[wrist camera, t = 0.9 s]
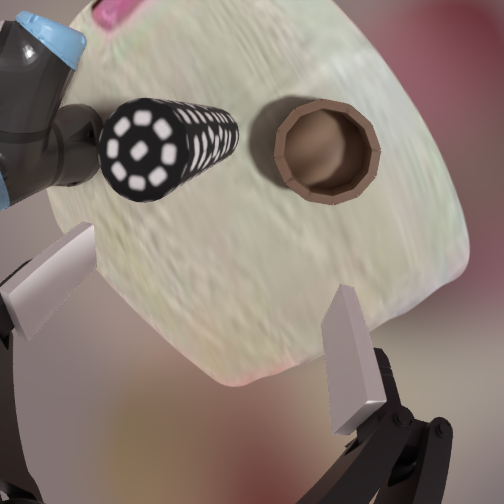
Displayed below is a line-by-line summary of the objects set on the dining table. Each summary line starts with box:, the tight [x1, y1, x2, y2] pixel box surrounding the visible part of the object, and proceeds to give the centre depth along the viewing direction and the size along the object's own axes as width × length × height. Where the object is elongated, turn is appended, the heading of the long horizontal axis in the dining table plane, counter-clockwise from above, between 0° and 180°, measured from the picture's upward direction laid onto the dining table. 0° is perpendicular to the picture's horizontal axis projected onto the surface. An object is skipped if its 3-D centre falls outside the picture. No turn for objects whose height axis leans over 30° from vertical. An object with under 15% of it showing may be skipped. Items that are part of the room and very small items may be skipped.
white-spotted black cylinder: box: [98, 98, 239, 203], centre depth 27 cm, size 8×8×20 cm
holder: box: [274, 99, 381, 205], centre depth 33 cm, size 13×13×4 cm
